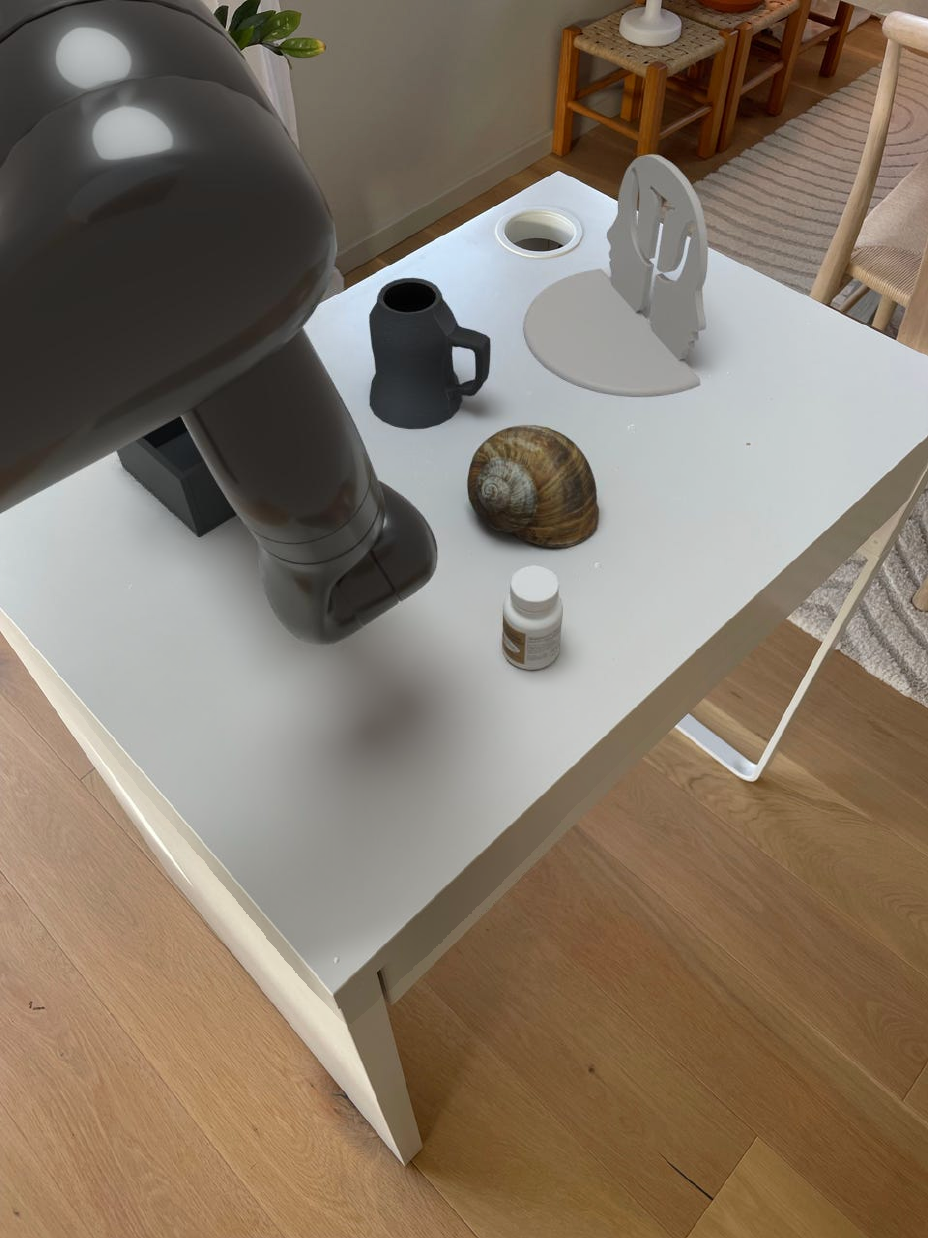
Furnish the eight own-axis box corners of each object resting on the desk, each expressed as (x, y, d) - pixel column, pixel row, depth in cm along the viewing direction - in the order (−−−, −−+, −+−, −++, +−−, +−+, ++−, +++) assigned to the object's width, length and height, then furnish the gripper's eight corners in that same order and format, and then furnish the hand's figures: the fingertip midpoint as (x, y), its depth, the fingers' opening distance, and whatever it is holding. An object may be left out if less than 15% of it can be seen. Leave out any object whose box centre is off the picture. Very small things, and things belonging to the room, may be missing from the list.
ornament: (703, 385, 93) (740, 223, 80) (581, 419, 90) (598, 256, 77) (600, 270, 106) (617, 114, 93) (490, 297, 103) (492, 139, 90)
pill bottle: (494, 634, 74) (495, 568, 68) (547, 620, 75) (552, 554, 69) (512, 678, 72) (515, 613, 66) (567, 663, 73) (575, 598, 67)
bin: (199, 537, 81) (179, 480, 76) (122, 466, 87) (99, 409, 82) (313, 467, 87) (303, 409, 81) (234, 405, 92) (219, 347, 87)
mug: (352, 414, 91) (339, 311, 82) (394, 360, 96) (386, 257, 88) (467, 446, 88) (466, 343, 79) (504, 389, 93) (507, 286, 84)
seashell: (448, 529, 82) (446, 458, 75) (496, 462, 87) (497, 391, 80) (570, 573, 78) (578, 503, 72) (612, 501, 83) (623, 430, 77)
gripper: (331, 338, 66) (237, 230, 75) (131, 408, 62) (58, 284, 71) (344, 424, 72) (255, 314, 81) (162, 494, 67) (90, 368, 77)
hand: (164, 301), depth 76 cm, fingers closed on supplement bottle, 4 cm apart
